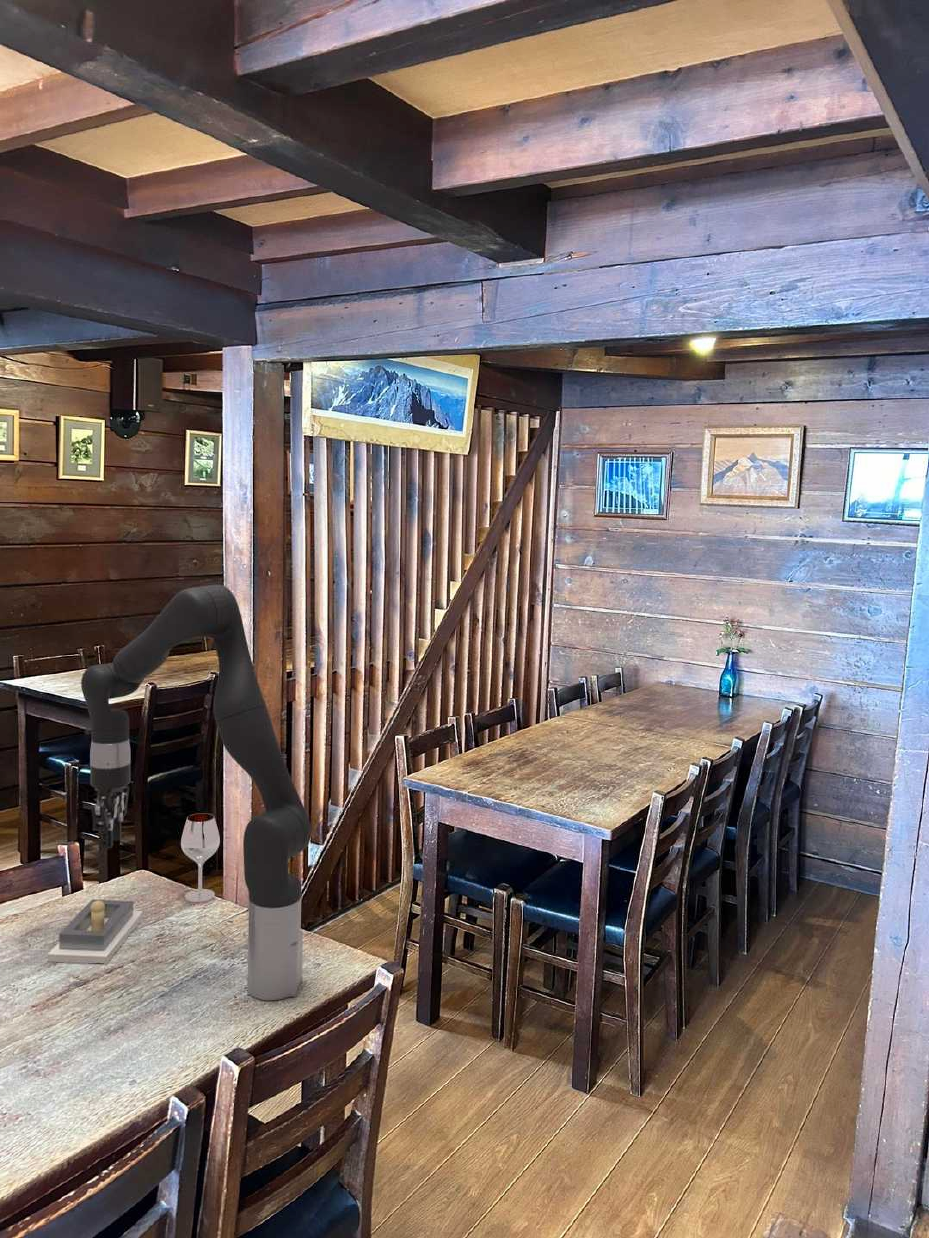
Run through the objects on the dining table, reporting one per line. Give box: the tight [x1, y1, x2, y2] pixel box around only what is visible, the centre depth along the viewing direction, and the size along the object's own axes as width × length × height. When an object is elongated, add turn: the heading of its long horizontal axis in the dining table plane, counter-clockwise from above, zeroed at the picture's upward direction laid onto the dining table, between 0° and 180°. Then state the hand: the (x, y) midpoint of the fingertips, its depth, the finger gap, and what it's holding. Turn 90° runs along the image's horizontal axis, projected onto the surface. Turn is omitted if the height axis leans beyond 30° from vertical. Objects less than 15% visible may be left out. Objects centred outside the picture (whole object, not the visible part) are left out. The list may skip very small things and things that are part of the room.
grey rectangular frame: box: [58, 899, 134, 951], centre depth 176 cm, size 15×8×3 cm, turn 0°
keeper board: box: [47, 901, 144, 965], centre depth 176 cm, size 11×19×8 cm, turn 0°
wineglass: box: [180, 812, 221, 903], centre depth 197 cm, size 8×8×18 cm
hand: (111, 843), depth 181 cm, fingers open, 4 cm apart
